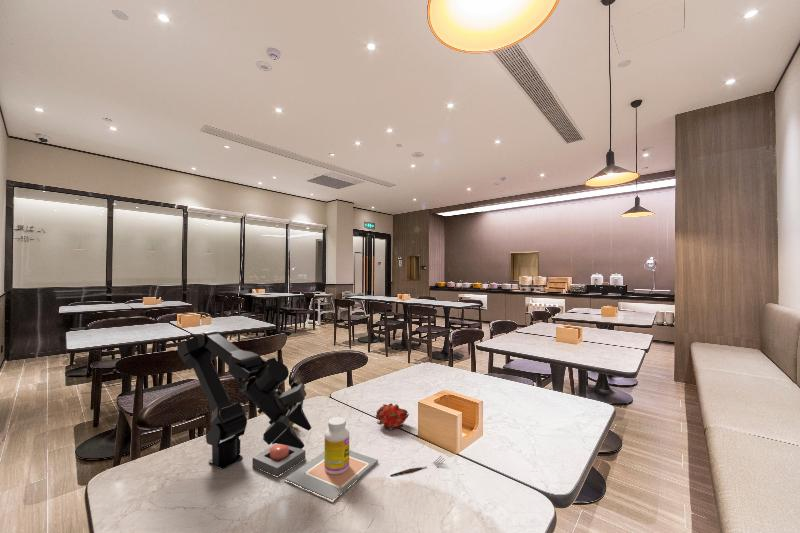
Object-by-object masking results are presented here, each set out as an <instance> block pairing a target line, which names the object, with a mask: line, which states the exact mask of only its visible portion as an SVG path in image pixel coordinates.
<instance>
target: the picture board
mask: <svg viewBox="0 0 800 533" xmlns="http://www.w3.org/2000/svg"><path fill="white" fill-rule="evenodd" d="M324 456H325V451H323V452H322V453H320V454H319V455H318V456H316V457H314V458H313V459H311V460H310V461H309V462H307V463H305V464H304V465H302V466H301V467H300V468H298V469H297V470H295V471H293V472H292V473H291V474H289V475H288V476H286V477H285V478H284V481H285V480H287V481H289V482H292V483H294V484H296V485H298V486H301V487H302V488H304V489H307V490H310V491H312V492H315V493H317V494H319V495H321V496H324V497H326V498H329V499H331V500H333V499H334V498H336V497H337V496H339V495H340V494H341V493H343V492H344V491H345V490H346V489H347V488H348V487H349V486H350V485H352V484H353V483H354V482H355V481H356V480H358V479H359V478H360V477H361V476H362V477H363V475H364V474H365V475H366V474H367V473H368V472H369V471H370V470H371V469H373V467H375V466H376V465H377V464H378V463H379V460H378V459H377V458H373V457H371V456H367V455H365V454H362V453H359V452H356V451H354V450H350V449H349V468H348V469H347V470H346V471H345V472H343V473H341V474H329V473H327V472H326V471H325V468H324ZM365 475H364V476H365ZM362 477H361V478H362ZM361 478H360V479H361ZM360 479H359V480H360ZM359 480H358V481H359ZM353 485H354V484H353ZM353 485H352V486H353ZM344 493H345V492H344ZM344 493H343V494H344Z"/></svg>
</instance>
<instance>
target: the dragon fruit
mask: <svg viewBox="0 0 800 533" xmlns="http://www.w3.org/2000/svg"><path fill="white" fill-rule="evenodd" d="M409 416H410V413H408V410H407V409H404V408H400V406H399V404H393V403H389V404H385V403H383V404H382V406H380V407H379V408H378V409H377V410H376V415H375V417H376V419H377V421H376V423H377V424H378V425H379V426H380V425H383V427H384V428H387V429H389V430H392V429H393V428H398V429H399V428H401V427H403V426H404V425H403V424H404V423H405V421H406V420H407V419H408V417H409Z"/></svg>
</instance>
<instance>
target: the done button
mask: <svg viewBox="0 0 800 533" xmlns="http://www.w3.org/2000/svg"><path fill="white" fill-rule="evenodd" d="M269 448H270V447H269ZM287 456H289V446H287V445H283V444H277V443H275V444H272V446H271V448H270V459H272V460H274V461H277V462H279V461H281V460H283V459H284V458H286V457H287Z"/></svg>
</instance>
